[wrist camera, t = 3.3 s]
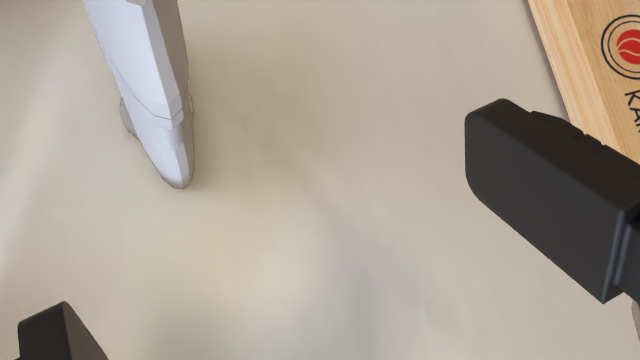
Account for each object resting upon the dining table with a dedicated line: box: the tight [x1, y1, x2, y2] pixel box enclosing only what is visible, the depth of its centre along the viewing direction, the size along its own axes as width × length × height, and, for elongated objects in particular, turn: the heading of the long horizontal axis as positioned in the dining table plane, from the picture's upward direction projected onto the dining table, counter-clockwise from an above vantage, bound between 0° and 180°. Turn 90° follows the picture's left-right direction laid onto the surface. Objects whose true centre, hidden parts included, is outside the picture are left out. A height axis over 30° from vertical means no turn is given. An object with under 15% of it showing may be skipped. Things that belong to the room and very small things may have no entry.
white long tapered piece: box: [83, 0, 194, 189], centre depth 24 cm, size 11×4×22 cm, turn 19°
